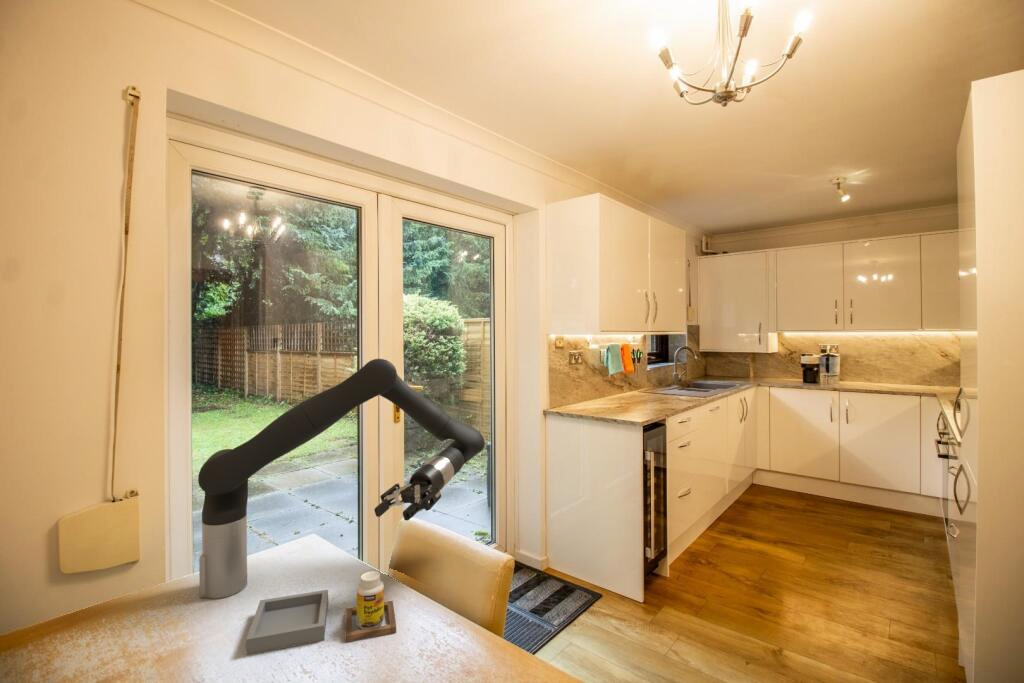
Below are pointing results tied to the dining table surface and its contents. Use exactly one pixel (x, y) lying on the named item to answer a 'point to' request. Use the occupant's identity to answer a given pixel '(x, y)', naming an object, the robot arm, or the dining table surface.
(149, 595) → the dining table surface
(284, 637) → the tray
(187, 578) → the dining table surface
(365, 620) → the supplement bottle
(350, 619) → the holder frame
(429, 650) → the dining table surface
